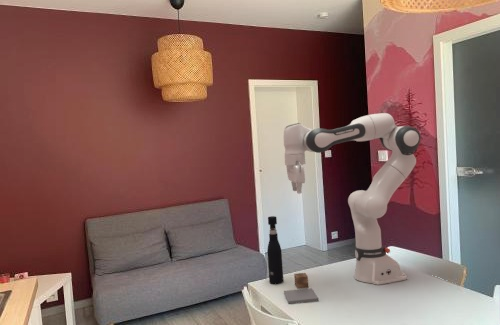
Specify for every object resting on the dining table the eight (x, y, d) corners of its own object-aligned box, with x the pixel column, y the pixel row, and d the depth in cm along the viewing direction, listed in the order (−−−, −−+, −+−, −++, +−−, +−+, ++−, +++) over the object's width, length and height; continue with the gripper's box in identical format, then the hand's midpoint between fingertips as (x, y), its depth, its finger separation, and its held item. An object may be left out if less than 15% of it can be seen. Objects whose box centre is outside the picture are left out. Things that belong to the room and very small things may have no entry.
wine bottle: (283, 279, 176) (279, 215, 175) (283, 284, 170) (279, 218, 169) (269, 279, 177) (265, 216, 176) (269, 284, 171) (264, 218, 170)
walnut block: (305, 283, 169) (305, 272, 169) (308, 287, 164) (307, 276, 164) (294, 284, 169) (294, 273, 168) (297, 288, 164) (296, 277, 164)
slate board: (311, 290, 160) (311, 288, 160) (318, 301, 149) (318, 298, 149) (283, 293, 159) (283, 290, 159) (288, 304, 148) (288, 301, 148)
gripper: (307, 160, 156) (309, 194, 156) (297, 159, 176) (299, 189, 177) (292, 162, 155) (294, 195, 156) (284, 160, 176) (286, 190, 176)
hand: (297, 192), depth 166 cm, fingers open, 8 cm apart
